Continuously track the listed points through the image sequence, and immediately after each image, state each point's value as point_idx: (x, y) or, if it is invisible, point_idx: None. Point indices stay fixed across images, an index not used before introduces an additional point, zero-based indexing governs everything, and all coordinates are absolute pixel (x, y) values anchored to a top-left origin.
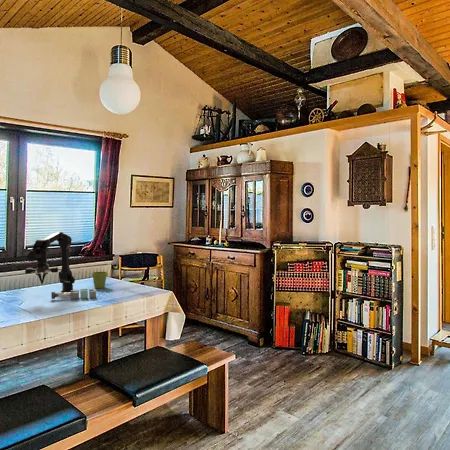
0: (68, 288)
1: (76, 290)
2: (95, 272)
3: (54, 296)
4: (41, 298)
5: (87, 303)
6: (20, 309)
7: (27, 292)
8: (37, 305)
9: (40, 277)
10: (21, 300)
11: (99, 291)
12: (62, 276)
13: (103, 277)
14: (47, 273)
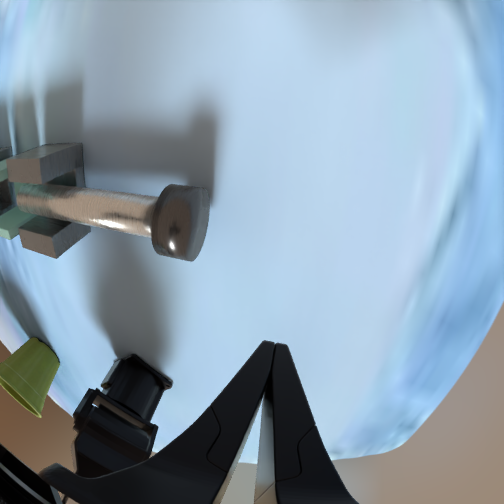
0: (124, 375)
1: (27, 232)
2: (37, 413)
3: (172, 185)
4: (289, 302)
5: (23, 34)
6: (472, 8)
7: (330, 431)
8: (350, 47)
9: (293, 454)
10: (425, 305)
11: (20, 292)
12: (118, 445)
13: (4, 361)
14: (42, 474)
